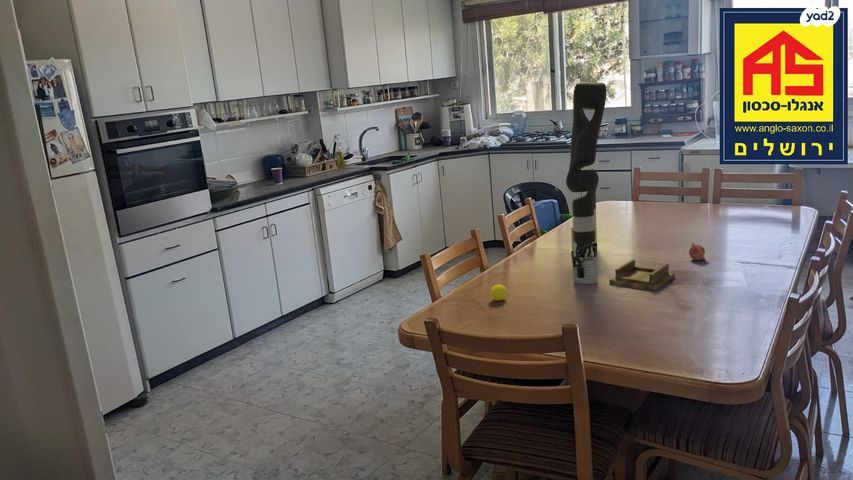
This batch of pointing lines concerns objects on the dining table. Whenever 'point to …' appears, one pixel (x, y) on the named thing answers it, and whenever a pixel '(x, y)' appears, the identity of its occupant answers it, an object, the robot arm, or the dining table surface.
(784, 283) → the dining table surface
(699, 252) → the orange ridged rounded piece
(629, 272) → the brown wooden tray
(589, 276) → the medicine box
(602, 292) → the dining table surface
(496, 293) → the lemon
